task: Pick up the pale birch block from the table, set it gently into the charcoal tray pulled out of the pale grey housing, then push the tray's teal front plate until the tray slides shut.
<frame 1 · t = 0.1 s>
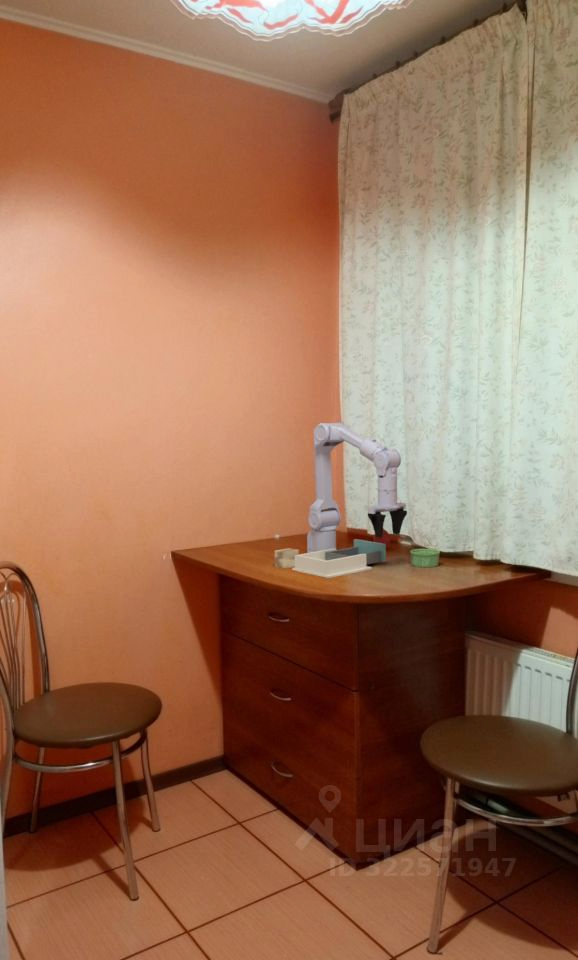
hand: (387, 535, 225), 10 cm above the table, fingers open, 7 cm apart
block: (286, 566, 232), on the table
ramekin: (424, 565, 230), on the table
housing: (334, 569, 226), on the table
onion: (381, 550, 257), on the table
tray: (354, 553, 231), point 4 cm above the table, slide at 8.0 cm
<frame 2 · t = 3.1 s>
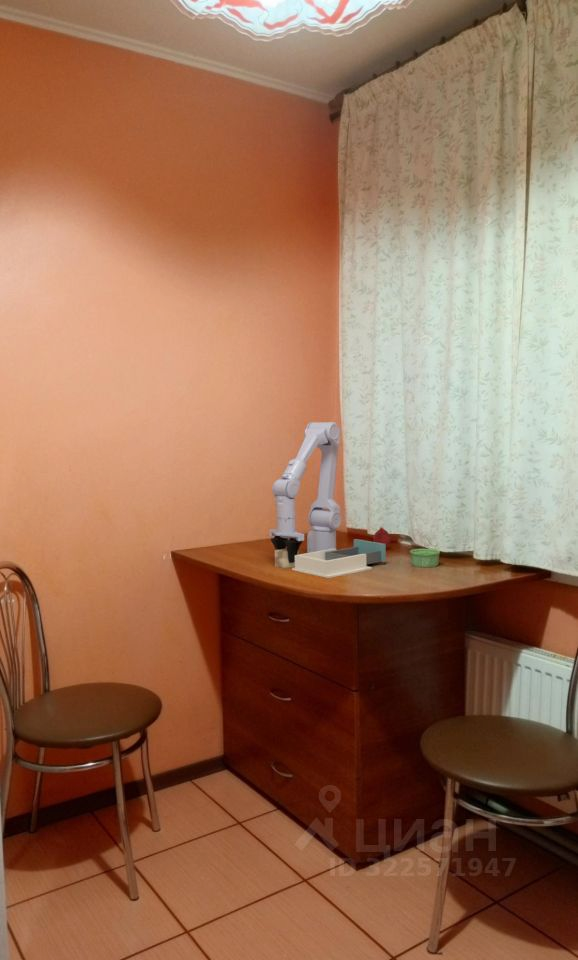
hand: (286, 561, 232), 1 cm above the table, fingers closed on block, 4 cm apart
block: (286, 565, 232), on the table, touching gripper
everything else where it was.
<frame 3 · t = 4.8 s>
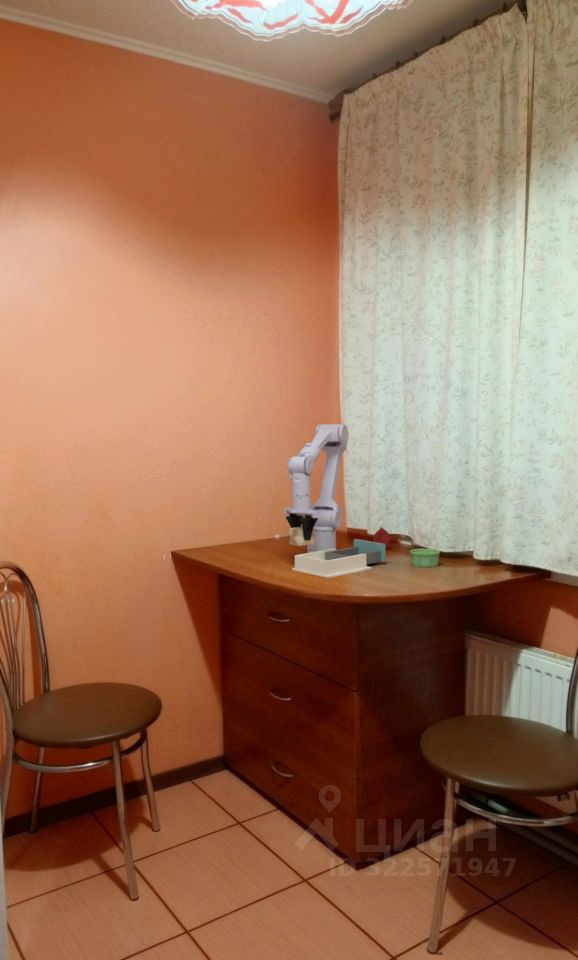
hand: (302, 539, 231), 8 cm above the table, fingers closed on block, 4 cm apart
block: (301, 543, 231), point 7 cm above the table, touching gripper
everything else where it was.
when the fingers open (5 cm above the table, at t = 6.8 s): block drops 1 cm, resting on tray.
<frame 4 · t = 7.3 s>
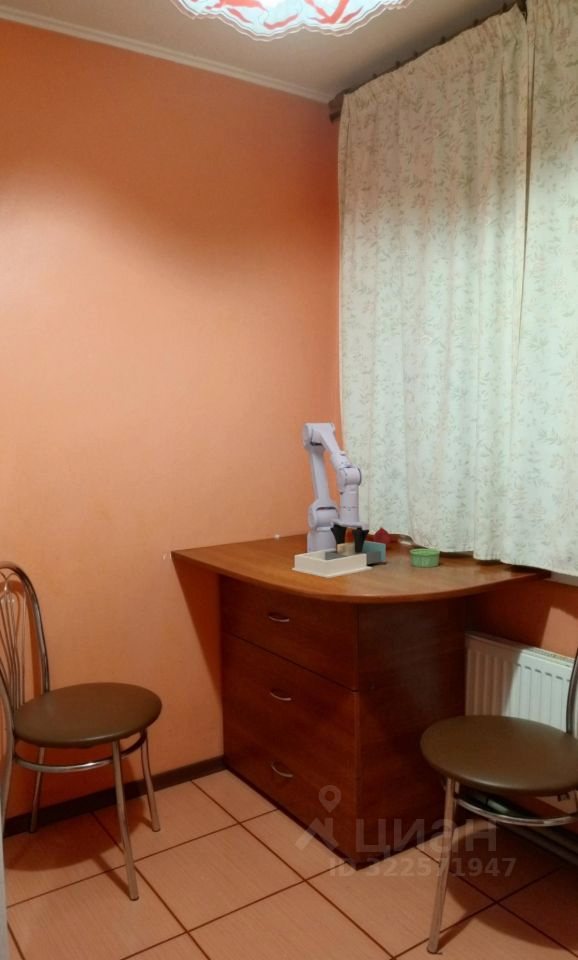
hand: (349, 550, 230), 5 cm above the table, fingers open, 7 cm apart
block: (349, 560, 230), point 2 cm above the table, touching tray
tray: (354, 553, 231), point 4 cm above the table, slide at 8.0 cm, touching block
everything else where it was.
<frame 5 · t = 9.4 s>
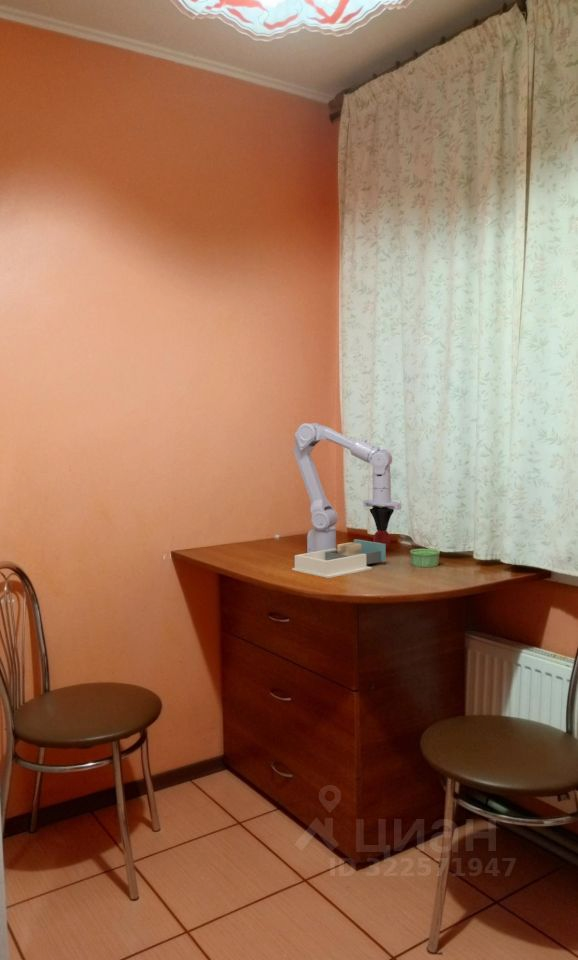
hand: (381, 530, 239), 9 cm above the table, fingers closed
nothing on the table moved.
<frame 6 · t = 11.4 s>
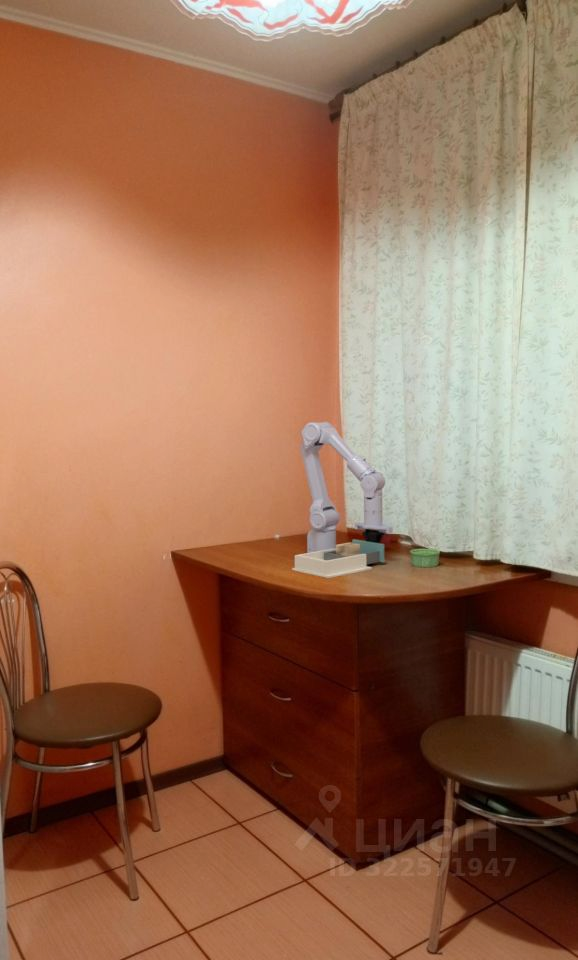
hand: (373, 553, 237), 2 cm above the table, fingers closed, pressing on tray
tray: (352, 553, 231), point 4 cm above the table, slide at 7.4 cm, touching block, gripper
everything else where it was.
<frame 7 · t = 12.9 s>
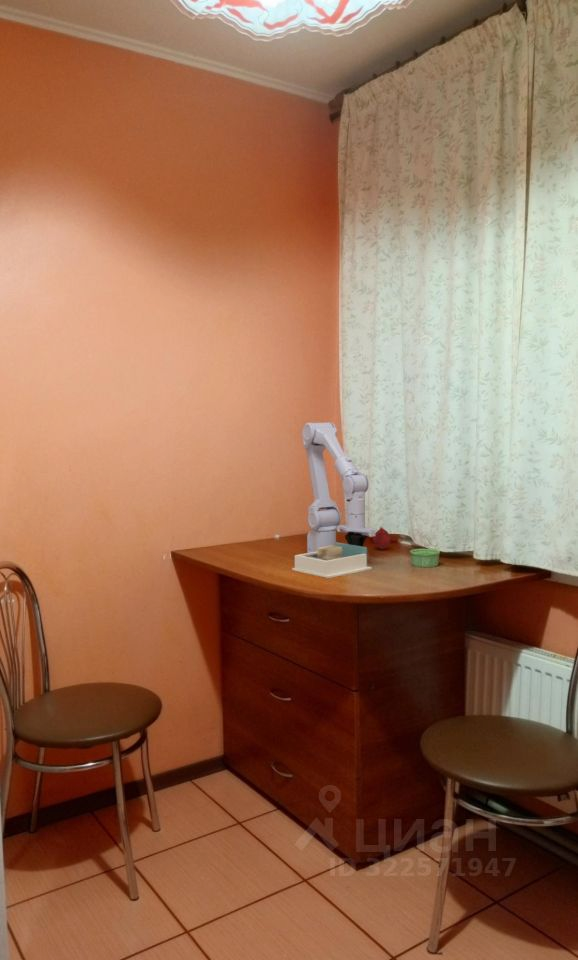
hand: (356, 557, 232), 2 cm above the table, fingers closed, pressing on tray
block: (330, 564, 225), point 2 cm above the table, touching tray
tray: (334, 556, 226), point 4 cm above the table, slide at -0.3 cm, touching block, gripper, housing
everything else where it was.
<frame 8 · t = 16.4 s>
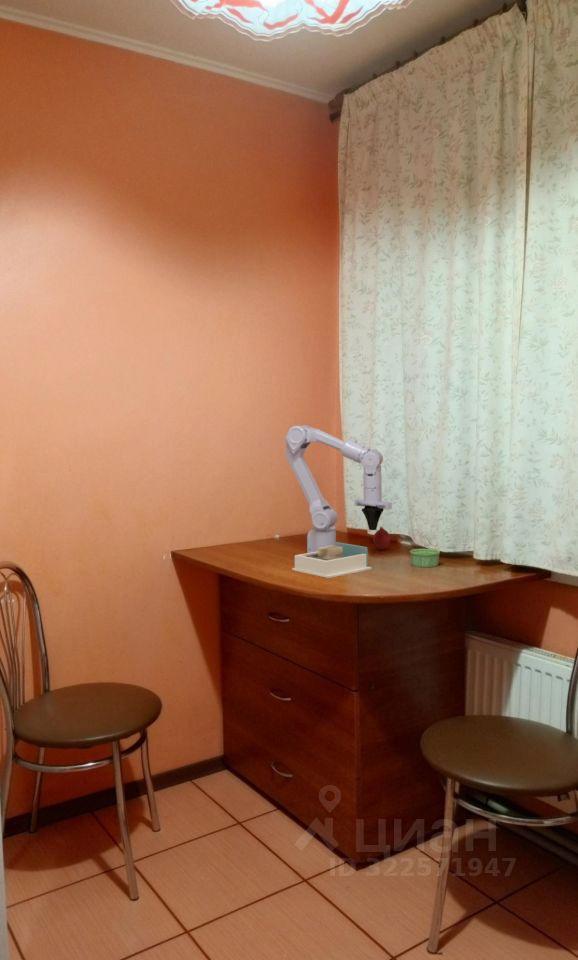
hand: (372, 529, 241), 9 cm above the table, fingers closed
tray: (335, 556, 226), point 4 cm above the table, slide at 0.0 cm, touching block
everything else where it was.
at the end: tray slide at 0.0 cm; block inside the target area on the housing (0.5 cm from its centre), point 1.8 cm above the housing's base; the gripper is holding nothing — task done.
